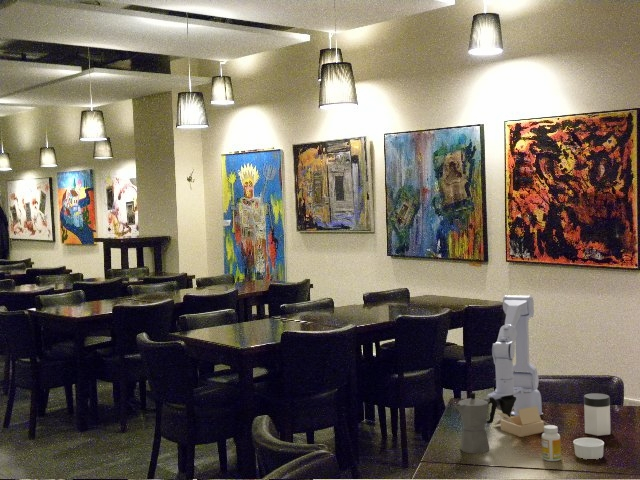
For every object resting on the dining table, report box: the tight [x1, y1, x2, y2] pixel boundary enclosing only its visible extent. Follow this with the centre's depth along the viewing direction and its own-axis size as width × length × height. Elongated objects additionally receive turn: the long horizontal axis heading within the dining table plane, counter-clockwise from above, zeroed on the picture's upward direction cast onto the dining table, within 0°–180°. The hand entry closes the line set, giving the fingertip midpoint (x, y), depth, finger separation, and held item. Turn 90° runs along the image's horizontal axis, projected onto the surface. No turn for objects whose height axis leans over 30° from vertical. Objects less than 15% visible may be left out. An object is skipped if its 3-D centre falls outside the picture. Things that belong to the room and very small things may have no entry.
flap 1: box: [495, 410, 515, 424], centre depth 267 cm, size 1×5×5 cm
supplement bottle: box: [541, 424, 562, 462], centre depth 241 cm, size 5×5×10 cm
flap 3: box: [518, 406, 542, 425], centre depth 267 cm, size 8×1×5 cm, turn 117°
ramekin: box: [572, 437, 605, 460], centre depth 242 cm, size 9×9×4 cm
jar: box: [583, 392, 611, 437], centre depth 265 cm, size 9×8×12 cm
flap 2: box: [493, 415, 519, 426], centre depth 277 cm, size 9×1×5 cm
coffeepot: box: [454, 392, 498, 455], centre depth 253 cm, size 15×9×18 cm, turn 113°
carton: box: [499, 416, 545, 438], centre depth 271 cm, size 10×10×4 cm
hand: (506, 418), depth 267 cm, fingers closed, pressing on flap 1
